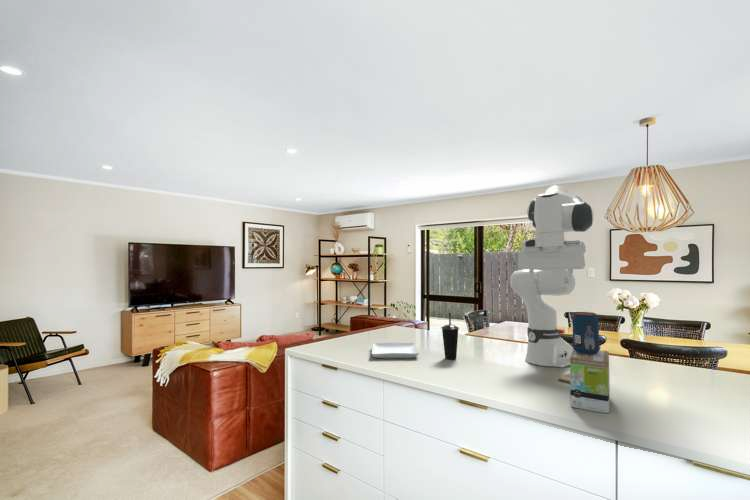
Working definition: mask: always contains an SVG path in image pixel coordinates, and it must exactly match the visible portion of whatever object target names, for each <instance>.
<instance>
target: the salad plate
mask: <svg viewBox="0 0 750 500" xmlns="http://www.w3.org/2000/svg"><path fill="white" fill-rule="evenodd" d="M371 349H372V350H371V355H372V356H373V357H375V358H376V359H377V358H378V359H411V358H412V359H413V358H417V356H419V354H420V351H419V349H418V346H417V344H416V343H415V342H372V348H371Z"/></svg>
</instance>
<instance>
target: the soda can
mask: <svg viewBox="0 0 750 500" xmlns="http://www.w3.org/2000/svg"><path fill="white" fill-rule="evenodd" d="M573 313H574V314H573V316H572V318H571V319H572V321H571V322H572V323H571V324H572V348H573V349H574V350H575V351H576V353H578V354H583V355H596V354H597V353H598V351H599V350H600V333H599V332H600V330H599V329H600V327H599V318H598V317H597V314H596V313H595V312H590V311H575V312H573Z"/></svg>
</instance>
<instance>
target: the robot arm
mask: <svg viewBox="0 0 750 500" xmlns="http://www.w3.org/2000/svg"><path fill="white" fill-rule="evenodd" d="M526 210H527V211H526V213H527V218H528V220H529V221H531V222H532V227H533V228H535V229H534V237H531V238H528V239H526V240H523V241H521V243H520V244H521V245H520V246H521V249H520V250H519V252H518V258H517V259H518V260H517V268H518V269H519V270H515V271H513V273H512V274H511V276H510V279H509V285H510V288H511V289H512V291H513V292H514V293H516V294H517V295H518V296H519V297H520V298H521V300H522V301H523V303H524V305H525V308H526V312H527V322H528V326H527V329H526V332H527V338H528V339H527V349H526V354H525V362H527V363H529V364H532V365H536V366H544V367H555V368H564V367H568V366H570V357H571V354H572V352H573V349H574V348H573V345H571V344H570V343H568V342H567V341H566V340H564V339H563V338H562V337H561V335H565V334H566V330H565V329H562V328H559V329H558V318H557V310H556V309H555V308H554V307H553V306H552V305H551V304H549V303H547V302H545V301H544V300H543V297H542V296H555V297H557V296H558V297H559V296H566V295H567V296H568V295H570V294H572V292H573V291H574V290H575V287H576V278H575V276H574V275H573V274H574V270H583V269H584V268H586V260H585V252H586V245H585V243H584V242H582V241H580V240H565V232H566V233H567V232H569V233H570V232H576V233H577V232H583V233H584V232H586V231H588V230H589V229H590V228H591V227H592V225H593V222H594V212H593V209H592V207H591V205H590V204H588V203H587V202H585V201H584V200H583V199H582V198H581V197H579V196H578V195H577V196H576V195H573V194H572V193H571V194H570V193H569V191H568V189H566V188H565V187H564V186H561V185H552V186H550V187H548V188H547V189H546V190H544V192H543V193H541V194H540V193H539V194H538V195H536V196H535V198H533V200H531V201H530V203H529V204H528V206H527V209H526Z"/></svg>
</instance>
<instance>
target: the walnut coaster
mask: <svg viewBox="0 0 750 500" xmlns="http://www.w3.org/2000/svg"><path fill="white" fill-rule="evenodd" d="M557 380H558V382H561V383H562V382H563V383H568V384H570V372H569V373H566V374H565V375H563V376H561V377H559V378H558V379H557Z"/></svg>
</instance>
